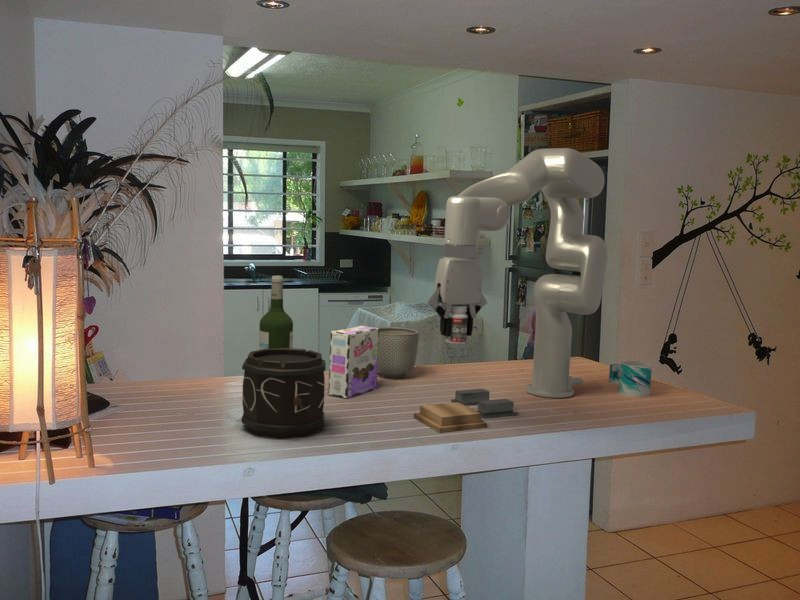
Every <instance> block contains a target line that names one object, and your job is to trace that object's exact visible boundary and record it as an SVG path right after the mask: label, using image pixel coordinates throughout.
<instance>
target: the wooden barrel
mask: <svg viewBox="0 0 800 600" xmlns="http://www.w3.org/2000/svg"><path fill="white" fill-rule="evenodd" d="M326 368H327V367H326V360H324V359H323V356H322V353H320V352H318V351H314V350H311V349H309V350H306V349H305V348H293V347H292V348H269V349H262V350H259V349H257V350H253V351H250V352H249V354H248V355H247V357H246V358H245V360H244V362H243V364H242V367H241V369H242V370H244V373H243V381H242V411H243V414H242V416H241V419H240V420H241V423H242V424H243V425H245V430H246V431H248V432H249V433H252V434H254V435H255V436H257V437H264V438H272V439H279V440H280V439H292V438H304V437H307V436H310V435H312V434H315V433H317V432H319V431H320V428H321V426H322V425H324V422H325V412H324V405H325V385H326V384H325V383H326V382H325V381H326V380H325V372H326Z"/></svg>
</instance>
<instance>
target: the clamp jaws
mask: <svg viewBox="0 0 800 600" xmlns="http://www.w3.org/2000/svg"><path fill="white" fill-rule="evenodd" d="M455 402H459V403H461V404H463V405H465V406H474V405H477V411H478V412H480V413H481V418H484V419H491V418H493V419H495V418H501V417H511V416H512V417H513V416H518V411H515V410H514V404H515V403H514V401H513V400H511V399H509V398H500V399H490V391H489V390H487V389H486V388H485V389H484V388H475V389H472V388H471V389H460V390H455V393H454V399H453V398H452V399H451V400H450V403H455Z"/></svg>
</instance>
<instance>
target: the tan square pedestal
mask: <svg viewBox="0 0 800 600" xmlns="http://www.w3.org/2000/svg"><path fill="white" fill-rule="evenodd" d="M413 419H414V420H417V421H419V422H421V424H424V425H426V427H429V428H430V429H432V430H434V431H436V432H437V433H450V432H458V431H466V430H467V431H468V430H475V429H476V430H477V429H486V428H488V422H486V421H484V420H482V417H481V413H480V412H478V410H475V409H474V408H471V407H470V406H468V405H463V404H461V403H459V402H455V403H452V402H447V403H446V402H445V403H436V404H434V403H433V404H423V405H419V412H415V413H413Z"/></svg>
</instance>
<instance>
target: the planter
mask: <svg viewBox="0 0 800 600" xmlns="http://www.w3.org/2000/svg"><path fill="white" fill-rule="evenodd" d="M378 328H379V337H378V364H377V365H378V366H377V373H378V374H379V375H380V377H382V378H385V379H392V380H393V379H402V378H405V377H406V375H407V374H408V373H410V372H411V371H413V370H414V368H415V365H416V362H417V355H418V349H419V341H420V331H418V330H417V329H414V328H410V327H408V328H407V327H401V326H398V327H397V326H381V327H380V326H379V327H378Z"/></svg>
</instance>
